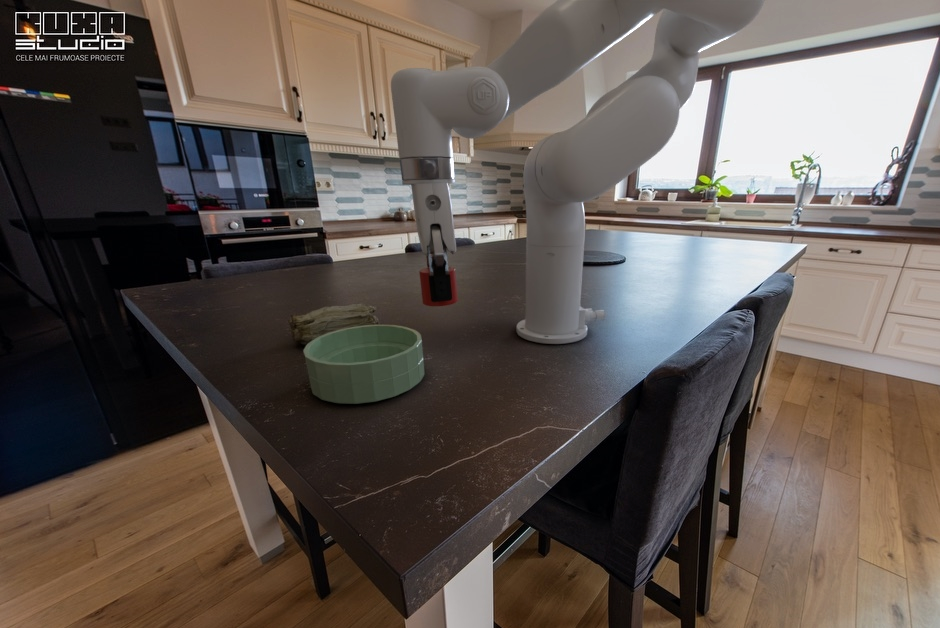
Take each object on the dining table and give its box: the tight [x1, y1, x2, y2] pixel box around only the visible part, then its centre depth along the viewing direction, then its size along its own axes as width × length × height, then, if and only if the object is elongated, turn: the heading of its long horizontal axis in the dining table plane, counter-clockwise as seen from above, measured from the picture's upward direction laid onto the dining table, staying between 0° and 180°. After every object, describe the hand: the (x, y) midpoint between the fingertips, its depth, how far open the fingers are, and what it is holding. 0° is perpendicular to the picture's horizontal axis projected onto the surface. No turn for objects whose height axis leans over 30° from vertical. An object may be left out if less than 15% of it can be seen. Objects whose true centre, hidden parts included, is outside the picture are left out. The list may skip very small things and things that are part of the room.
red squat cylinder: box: [418, 265, 459, 307], centre depth 62 cm, size 6×6×6 cm
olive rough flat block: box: [288, 302, 381, 346], centre depth 67 cm, size 14×10×5 cm, turn 129°
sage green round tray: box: [302, 324, 426, 405], centre depth 52 cm, size 14×14×6 cm
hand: (439, 294), depth 63 cm, fingers closed on red squat cylinder, 5 cm apart
